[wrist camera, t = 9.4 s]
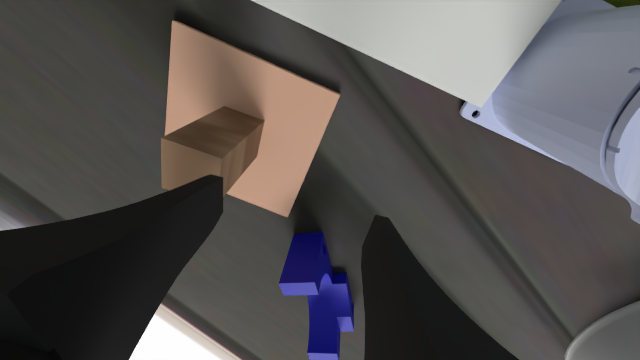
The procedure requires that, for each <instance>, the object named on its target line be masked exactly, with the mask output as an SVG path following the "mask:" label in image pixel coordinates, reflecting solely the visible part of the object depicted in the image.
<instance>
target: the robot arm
mask: <svg viewBox="0 0 640 360" xmlns="http://www.w3.org/2000/svg"><path fill="white" fill-rule="evenodd" d="M476 110H478V113H477V115H476V116H473V117H472V113H473V112H474V111H476ZM460 114H461V116H463V117H464V118H466V119H468V120H470V121H472V122H475V123H477V124H479V125H481V126H483V127H485V128H488V129H490V130H492V131H494V132H496V133H498V134H501V135H503V136H505V137H507V138H509V139H511V140H514V141H516V142H518V143H520V144H522V145H524V146H527V147H529V148H531V149H533V150H535V151H538V152H540V153H542V154H544V155H546V156H548V157H551V158H553V159H555V160H557V161H559V162H561V163H564V164H566V165H569V166H571V167H572V168H574V169H576V170H577V171H579V172H581V173H583V174H584V175H586V176H588V177H590V178H591V179H593V180H595V181H597V182H598V183H600V184H602V185H604V186H605V187H607V188H609V189H610V190H612V191H614V192H616V193H617V194H619V195H621V196H623V197H624V198H625V199H627V200H628V201H629V203H630V205H631V208H632V213H631V219H633V220H634V221H636V222H637V223H639V224H640V5H634V6H626V7H619V8H616V7H615V6H613V5H611V4H609V3H607V2H605V1H603V0H562V1H561V2H560V3H559V5H558V6H557V7H556V9H555V10H554V11H553V13H552V14H551V15H550V17H549V18H548V19H547V21H546V22H545V23H544V25H543V26H542V27H541V29H540V30H539V31H538V33H537V34H536V35H535V37H534V38H533V39H532V41H531V42H530V43H529V45H528V46H527V47H526V49H525V50H524V51H523V53H522V54H521V55H520V57H519V58H518V59H517V61H516V62H515V63H514V65H513V66H512V67H511V69H510V70H509V72H508V73H507V74H506V76H505V77H504V78H503V80H502V81H501V82H500V84H499V85H498V86H497V88H496V89H495V90H494V92H493V93H492V94H491V96H490V97H489V98H488V100H487V101H486V102H485V104H484V105H483V106H482V108H480V107H478V106H476V105H473V104H471V103H469V102H467V101H465V103H464V104H463V105H462V107H461V109H460ZM222 213H223V177H220V176H216V175H212V174H210V175H207V176H204V177H201V178H199V179H196V180H194V181H192V182H189V183H187V184H184V185H182V186H180V187H177V188H175V189H172V190H170V191H167V192H165V193H162V194H159V195H156V196H154V197H151V198H148V199H145V200H143V201H140V202H137V203H133V204H130V205H127V206H124V207H120V208H117V209H113V210H109V211H106V212H101V213H97V214H93V215H88V216H84V217H80V218H75V219H71V220H66V221H60V222H55V223H50V224H44V225H38V226H32V227H25V228H19V229H11V230H3V231H0V360H129V358H130V356H131V354H132V353H133V351H134V349H135V347H136V345H137V344H138V342H139V340H140V338H141V336H142V335H143V333H144V331H145V329H146V327H147V326H148V324H149V322H150V320H151V319H152V317H153V315H154V314H155V312H156V310H157V309H158V307H159V305H160V304H161V302H162V300H163V299H164V297H165V295H166V294H167V292H168V291H169V289H170V287H171V286H172V284H173V283H174V281H175V279H176V278H177V276H178V275H179V274H180V272H181V271H182V269H183V268H184V267H185V265H186V264H187V263H188V262H189V260H190V259H191V258H192V256H193V255H194V254H195V253H196V251H197V250H198V249H199V247H200V246H201V245H202V243H203V242H204V241H205V240H206V238H207V237H208V236H209V234H210V233H211V232H212V230H213V229H214V227H215V225H216V224H217V222H218V220H219V218H220V216H221V215H222ZM361 270H362V283H363V296H364V309H365V358H364V360H519V359H517V358H516V357H515V356H514V355H512V354H511V353H510V352H509V351H507V350H506V349H505V348H503V347H502V346H501V345H500V344H499V343H498V342H496V341H495V340H494V339H493V338H492V337H491V336H489V335H488V334H487V333H486V332H485V331H484V330H482V329H481V328H480V327H479V326H478V325H477V324H476V323H475V322H474V321H473V320H471V319H470V318H469V317H468V316H467V315H466V314H465V313H464V312H463V311H462V310H461V309H460V308H459V307H458V306H457V305H456V304H455V303H454V302H453V301H452V300H451V299H450V298H449V297H448V296H447V295H446V294H445V293H444V291H443V290H442V289H441V288H440V287H439V286H438V285H437V284H436V283H435V281H434V280H433V279H432V278H431V277H430V276H429V274H428V273H427V272H426V271H425V269H424V268H423V267H422V266H421V264H420V263H419V262H418V260H417V259H416V258H415V256H414V255H413V254H412V252H411V251H410V249H409V248H408V246H407V245H406V244H405V242H404V241H403V239H402V238H401V236H400V235H399V233H398V232H397V230H396V228H395V227H394V225H393V224H392V222H391V221H390V219H389V218H387V217H383V216H379V215H375V217H374V220H373V222H372V224H371V227H370V229H369V231H368V234H367V236H366V239H365V241H364V243H363V246H362V261H361Z"/></svg>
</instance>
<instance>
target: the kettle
mask: <svg viewBox="0 0 640 360" xmlns="http://www.w3.org/2000/svg"><path fill="white" fill-rule="evenodd" d="M565 360H640V301H637V302H635V303H632V304H630V305H627V306H625V307H622V308H620V309H618V310H616V311H613V312H611V313H609V314H607V315H606V316H604V317H602V318H600V319H598V320H597V321H595V322H594V323H592V324H591V325H589V326H588V327H586V328H585V329H584V330H583V331H582V332H580V333H579V334H578V335H577V336H576V337H575V338H574V339H573V341H572V342H571V343H570V345H569V347H568V348H567V351H566V354H565Z"/></svg>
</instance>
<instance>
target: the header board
mask: <svg viewBox="0 0 640 360" xmlns="http://www.w3.org/2000/svg"><path fill="white" fill-rule="evenodd" d="M251 1H254V2H256V3H258V4H260V5H262V6H264V7H266V8H269V9H271V10H273V11H275V12H277V13H279V14H281V15H283V16H286V17H288V18H290V19H292V20H294V21H296V22H298V23H301V24H303V25H305V26H307V27H309V28H311V29H313V30H315V31H318V32H320V33H322V34H324V35H326V36H328V37H330V38H333V39H335V40H337V41H339V42H341V43H343V44H345V45H348V46H350V47H352V48H354V49H356V50H358V51H360V52H362V53H365V54H367V55H369V56H371V57H373V58H375V59H377V60H380V61H382V62H384V63H386V64H388V65H390V66H392V67H394V68H397V69H399V70H401V71H403V72H405V73H407V74H409V75H412V76H414V77H416V78H418V79H420V80H422V81H424V82H427V83H429V84H431V85H433V86H435V87H437V88H439V89H441V90H444V91H446V92H448V93H450V94H452V95H454V96H456V97H459V98H461V99H463V100H465V101H467V102H469V103H471V104H473V105H476V106H478V107H480V108H482V106H483V105H484V104H485V102H486V101H487V100H488V98H489V97H490V96H491V94H492V93H493V92H494V90H495V89H496V88H497V86H498V85H499V84H500V82H501V81H502V80H503V78H504V77H505V76H506V74H507V73H508V72H509V70H510V69H511V67H512V66H513V65H514V63H515V62H516V61H517V59H518V58H519V57H520V55H521V54H522V53H523V51H524V50H525V49H526V47H527V46H528V45H529V43H530V42H531V41H532V39H533V38H534V37H535V35H536V34H537V33H538V31H539V30H540V29H541V27H542V26H543V25H544V23H545V22H546V21H547V19H548V18H549V17H550V15H551V14H552V13H553V11H554V10H555V9H556V7H557V6H558V5H559V3H560V2H561V1H562V0H251Z"/></svg>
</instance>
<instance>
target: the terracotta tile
mask: <svg viewBox="0 0 640 360" xmlns="http://www.w3.org/2000/svg"><path fill="white" fill-rule="evenodd" d="M339 97H340V93H337V92H335V91H333V90H331V89H329V88H326V87H324V86H322V85H320V84H317V83H315V82H313V81H311V80H308V79H306V78H304V77H302V76H300V75H297V74H295V73H293V72H291V71H288V70H286V69H284V68H282V67H279V66H277V65H275V64H273V63H270V62H268V61H266V60H264V59H262V58H259V57H257V56H255V55H253V54H250V53H248V52H246V51H244V50H241V49H239V48H237V47H235V46H233V45H230V44H228V43H226V42H224V41H221V40H219V39H217V38H215V37H212V36H210V35H208V34H206V33H203V32H201V31H199V30H197V29H195V28H192V27H190V26H188V25H186V24H183V23H181V22H179V21H173V20H172V33H171V49H170V65H169V81H168V96H167V112H166V128H165V136H166V135H168V134H170V133H172V132H174V131H175V130H177V129H179V128H181V127H183V126H185V125H187V124H189V123H191V122H193V121H195V120H197V119H199V118H201V117H203V116H205V115H207V114H209V113H211V112H213V111H215V110H217V109H219V108H221V107H223V106H225V107H228V108H231V109H234V110H236V111H239V112H242V113H245V114H248V115H250V116H253V117H256V118H259V119H262V120H264V121H265V122H264V126H263V131H262V136H261V140H260V145H259V150H258V155H257V157H256V158H255V160H254V161H253V162H252V163H251V164H250V166H249V167H248V168H247V169H246V170H245V172H244V173H243V174H242V175H241V176H240V178H239V179H238V180H237V181H236V182H235V184H234V185H233V186H232V187H231V188H230V190H229V191H228V192H227V193H226V194H229V195H232V196H234V197H237V198H239V199H242V200H244V201H247V202H250V203H252V204H255V205H257V206H260V207H262V208H265V209H267V210H270V211H273V212H275V213H278V214H280V215H283V216H285V217H288V215H289V213H290V211H291V208H292V206H293V204H294V201H295V199H296V197H297V194H298V192H299V190H300V187H301V185H302V183H303V180H304V178H305V176H306V173H307V171H308V169H309V166H310V164H311V162H312V159H313V157H314V155H315V152H316V150H317V148H318V145H319V143H320V141H321V138H322V136H323V134H324V131H325V129H326V127H327V124H328V122H329V120H330V118H331V115H332V113H333V111H334V108H335V106H336V104H337V101H338V99H339Z"/></svg>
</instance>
